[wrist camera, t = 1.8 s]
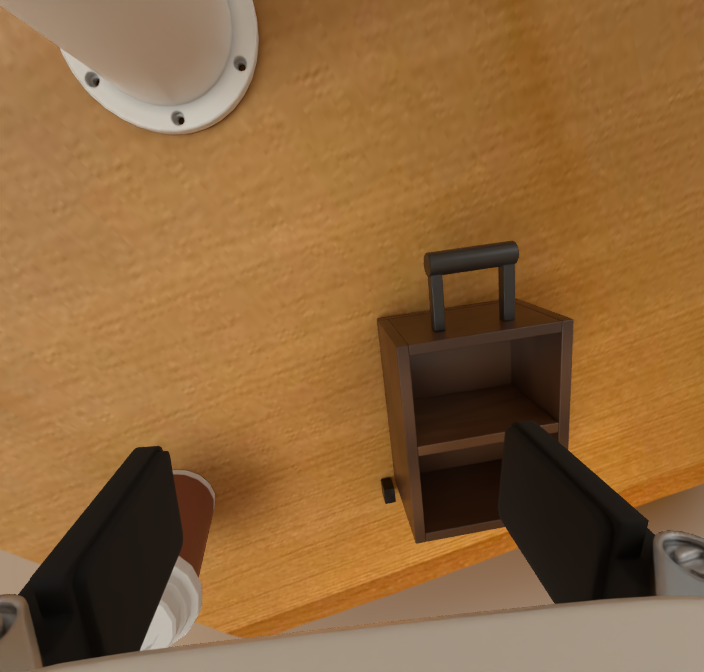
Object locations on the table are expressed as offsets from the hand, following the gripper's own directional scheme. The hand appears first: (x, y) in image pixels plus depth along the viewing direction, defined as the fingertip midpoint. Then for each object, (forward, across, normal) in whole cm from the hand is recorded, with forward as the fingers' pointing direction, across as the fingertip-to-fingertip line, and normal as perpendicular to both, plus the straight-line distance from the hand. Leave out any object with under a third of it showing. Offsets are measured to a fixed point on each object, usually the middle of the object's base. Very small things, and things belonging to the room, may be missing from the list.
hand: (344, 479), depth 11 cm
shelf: (+22, -11, +5) cm, 25 cm away
